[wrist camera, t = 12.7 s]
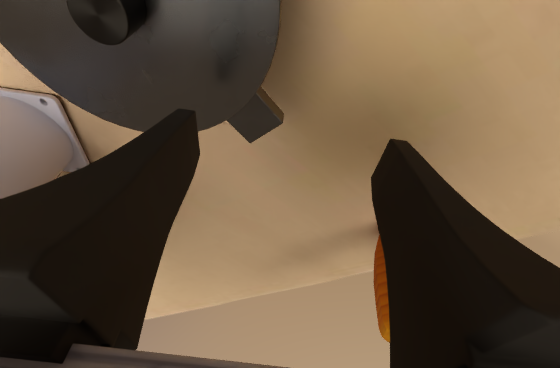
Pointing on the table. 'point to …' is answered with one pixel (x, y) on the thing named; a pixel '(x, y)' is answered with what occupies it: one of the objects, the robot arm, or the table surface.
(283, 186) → the table surface
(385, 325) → the carrot
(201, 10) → the pot lid
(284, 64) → the table surface
